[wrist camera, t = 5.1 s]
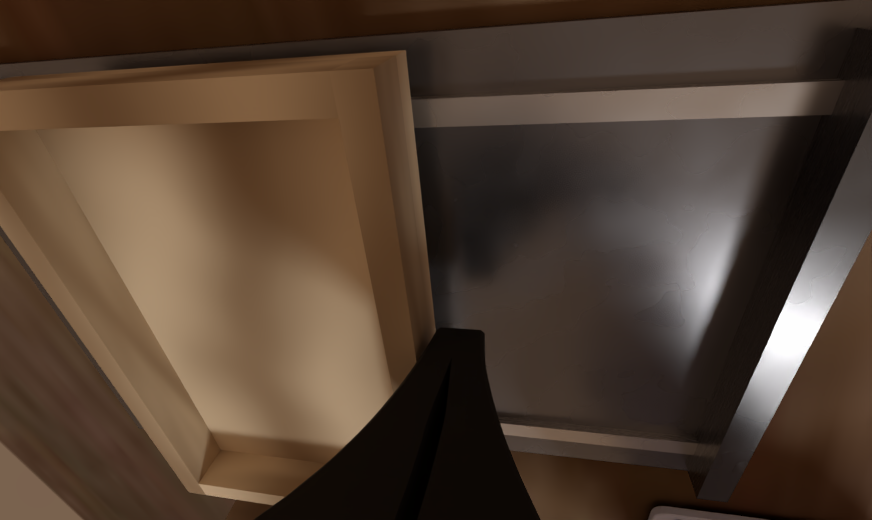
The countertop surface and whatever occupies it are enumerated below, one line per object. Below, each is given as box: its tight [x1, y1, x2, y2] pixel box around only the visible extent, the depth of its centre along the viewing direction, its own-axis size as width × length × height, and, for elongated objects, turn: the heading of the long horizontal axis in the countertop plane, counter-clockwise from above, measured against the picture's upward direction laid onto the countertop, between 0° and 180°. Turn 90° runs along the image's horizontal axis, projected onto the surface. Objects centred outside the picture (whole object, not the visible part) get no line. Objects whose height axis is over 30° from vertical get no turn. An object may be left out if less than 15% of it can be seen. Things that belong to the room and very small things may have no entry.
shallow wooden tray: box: [0, 50, 436, 505], centre depth 14 cm, size 11×16×3 cm
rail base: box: [0, 0, 872, 502], centre depth 14 cm, size 25×16×2 cm, turn 95°
